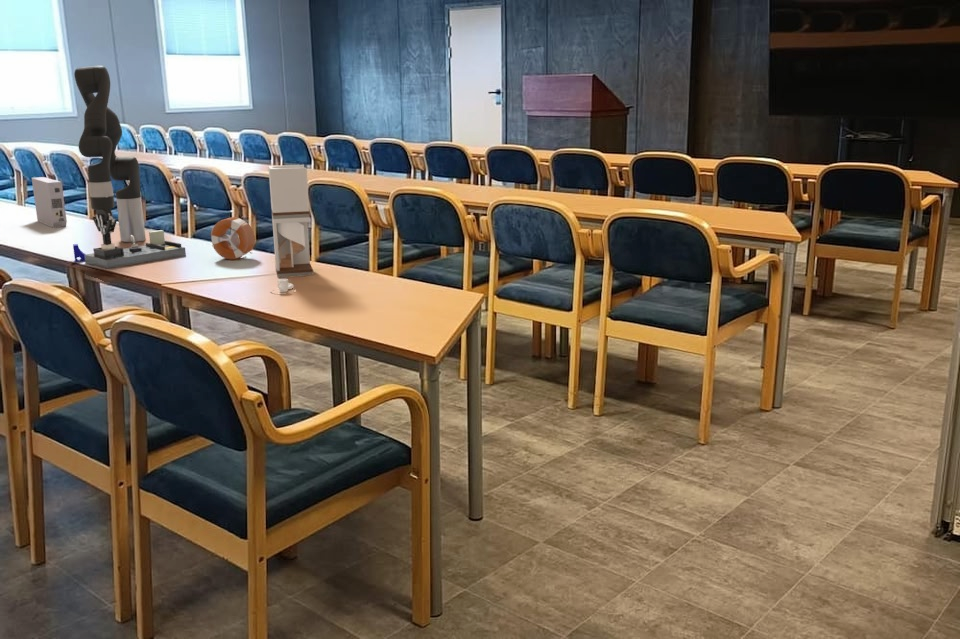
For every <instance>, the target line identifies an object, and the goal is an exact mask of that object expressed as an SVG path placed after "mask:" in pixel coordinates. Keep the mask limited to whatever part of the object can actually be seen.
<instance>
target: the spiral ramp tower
mask: <svg viewBox="0 0 960 639" xmlns="http://www.w3.org/2000/svg"><path fill="white" fill-rule="evenodd" d="M268 180H269V192H270V193H269V194H270V207H271V208H270V209H271V221H272V233H273V234H272V235H273V247H274V262H275V263H274V264H275V273H276V276H277V278H278V277H279V278H291V277H290V276H295V277H306V276H305V275H310V276H314V270H313V269H314V268H313V267H312V265H311V257H310V242H309V241H310V240H309V225H308V224H309V223H310V222H311V220H310V219H311V217H310V204H309V203H310V201H309V185H308V168H307V167H305V164H290V165H288V164H287V165H268ZM308 222H309V223H308Z"/></svg>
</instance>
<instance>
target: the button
mask: <svg viewBox="0 0 960 639" xmlns="http://www.w3.org/2000/svg"><path fill="white" fill-rule="evenodd" d="M100 248H101V249H102V250H111V249H115V243H113V242H111V244H109V245H105V244H103V243H102V244H100Z"/></svg>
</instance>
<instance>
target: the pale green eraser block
mask: <svg viewBox="0 0 960 639" xmlns="http://www.w3.org/2000/svg"><path fill="white" fill-rule="evenodd" d="M148 234H149V243H151V244H156V245H161V244H165V241H166V240H165V231H164V230H162V229H160V230H154V231H148Z"/></svg>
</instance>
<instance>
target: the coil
mask: <svg viewBox="0 0 960 639" xmlns="http://www.w3.org/2000/svg"><path fill="white" fill-rule="evenodd" d="M242 218H244V215H243V216H241V218H240V217H237V216H232V217H228V218H224V219H221V220H219V221H218V222H216V223H215V225H214V226H213V227H212V229H211V233H210V236H211V242H212V245H211V246H212V247H213V249H214V251H215V253H216V254H218V255H219V256H220V257H222V258H223V259H227V260H231V261H232V260H241V259H245V258H247V254H248V253H249V254H253V252H252V250H253V249H254V247H255V244H256V242H255V241H256V240H255V239H256V236H255V232H254V230H253V228H252V226H251V224H250V223H248V222H250V220H246V221H245V220H244V219H242ZM229 229H230V234H227V233H228V230H229ZM244 255H245V256H244ZM243 256H244V257H243Z"/></svg>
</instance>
